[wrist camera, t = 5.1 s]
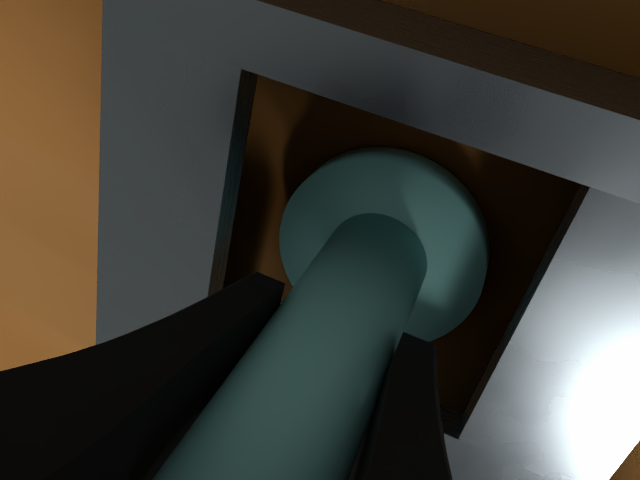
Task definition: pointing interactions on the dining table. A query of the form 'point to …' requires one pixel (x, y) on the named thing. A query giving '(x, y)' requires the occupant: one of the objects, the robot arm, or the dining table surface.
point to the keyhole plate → (416, 111)
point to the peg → (341, 317)
